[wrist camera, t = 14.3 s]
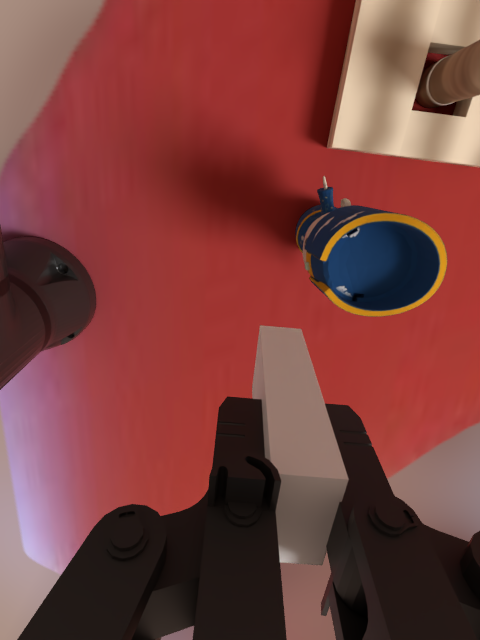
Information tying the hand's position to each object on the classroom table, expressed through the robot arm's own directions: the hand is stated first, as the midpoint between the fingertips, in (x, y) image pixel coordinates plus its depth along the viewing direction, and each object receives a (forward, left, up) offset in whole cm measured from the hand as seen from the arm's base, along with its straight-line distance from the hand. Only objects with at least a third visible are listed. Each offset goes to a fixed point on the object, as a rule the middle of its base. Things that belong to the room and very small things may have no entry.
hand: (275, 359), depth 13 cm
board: (+16, +16, -34) cm, 40 cm away
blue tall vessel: (+8, 0, -34) cm, 35 cm away
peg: (+16, +16, -34) cm, 40 cm away
